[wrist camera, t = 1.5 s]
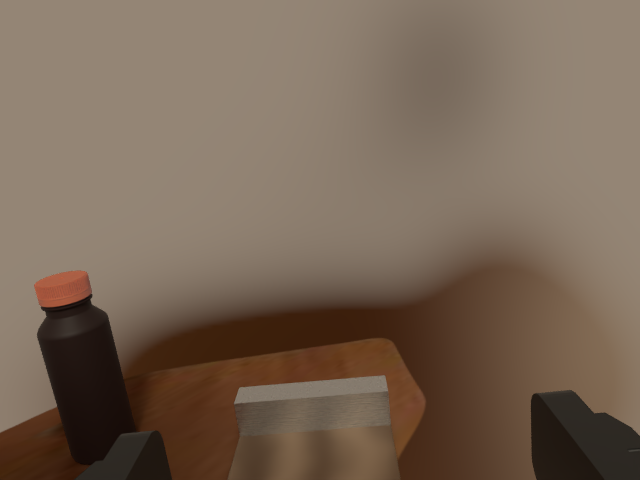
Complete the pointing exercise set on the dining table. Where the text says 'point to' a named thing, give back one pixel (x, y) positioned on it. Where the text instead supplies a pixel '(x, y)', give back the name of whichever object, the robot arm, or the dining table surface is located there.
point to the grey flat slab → (318, 455)
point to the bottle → (82, 366)
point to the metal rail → (312, 406)
